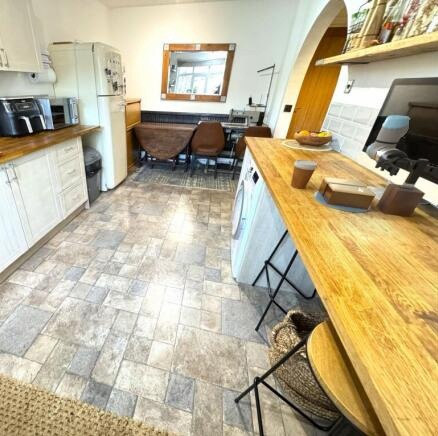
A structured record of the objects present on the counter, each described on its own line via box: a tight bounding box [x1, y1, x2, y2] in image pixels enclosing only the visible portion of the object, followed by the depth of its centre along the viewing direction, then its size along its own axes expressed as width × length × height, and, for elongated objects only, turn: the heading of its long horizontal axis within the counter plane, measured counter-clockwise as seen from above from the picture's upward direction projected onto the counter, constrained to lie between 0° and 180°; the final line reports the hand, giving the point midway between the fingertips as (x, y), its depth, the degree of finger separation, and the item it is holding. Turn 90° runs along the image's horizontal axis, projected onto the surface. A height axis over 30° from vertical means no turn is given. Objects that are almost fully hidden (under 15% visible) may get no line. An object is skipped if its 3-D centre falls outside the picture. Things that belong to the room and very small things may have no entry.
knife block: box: [376, 183, 426, 218], centre depth 93 cm, size 8×7×10 cm
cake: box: [313, 176, 377, 214], centre depth 101 cm, size 20×20×8 cm
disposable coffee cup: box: [290, 159, 318, 190], centre depth 113 cm, size 10×10×12 cm
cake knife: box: [401, 158, 430, 189], centre depth 90 cm, size 3×2×21 cm, turn 71°
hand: (420, 174), depth 85 cm, fingers open, 13 cm apart
